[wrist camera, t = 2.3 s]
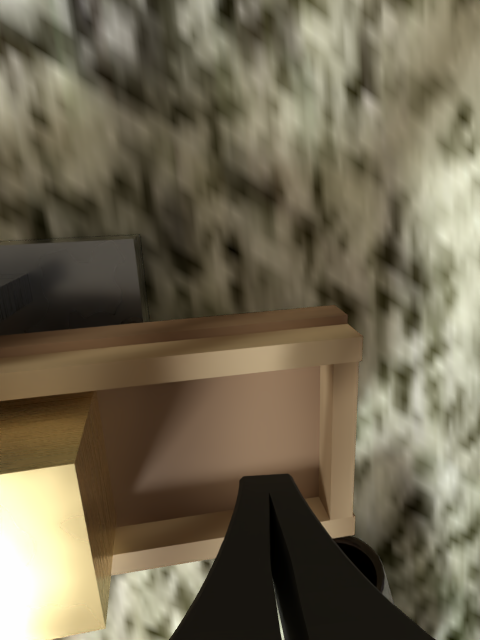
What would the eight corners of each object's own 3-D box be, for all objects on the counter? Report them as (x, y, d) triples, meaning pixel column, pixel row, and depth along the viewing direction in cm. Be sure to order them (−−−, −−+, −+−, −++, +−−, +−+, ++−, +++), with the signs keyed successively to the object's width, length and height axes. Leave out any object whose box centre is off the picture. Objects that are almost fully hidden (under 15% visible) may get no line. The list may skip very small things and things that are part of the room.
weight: (95, 385, 14) (74, 463, 10) (116, 517, 15) (105, 628, 12) (-84, 406, 13) (-180, 501, 9) (-42, 544, 14) (-110, 672, 11)
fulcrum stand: (139, 234, 17) (105, 259, 12) (172, 519, 21) (156, 622, 16) (-134, 248, 16) (-280, 278, 12) (-47, 531, 20) (-129, 640, 16)
